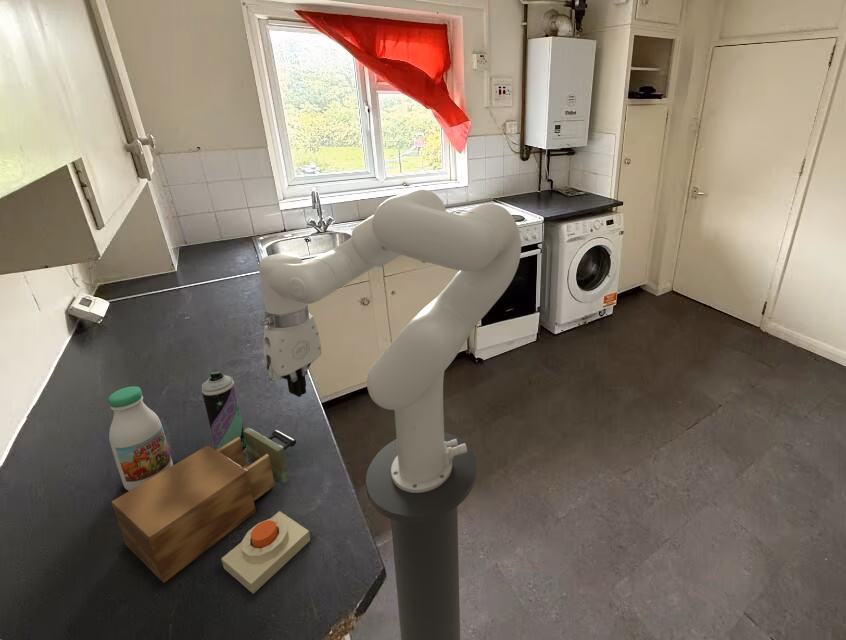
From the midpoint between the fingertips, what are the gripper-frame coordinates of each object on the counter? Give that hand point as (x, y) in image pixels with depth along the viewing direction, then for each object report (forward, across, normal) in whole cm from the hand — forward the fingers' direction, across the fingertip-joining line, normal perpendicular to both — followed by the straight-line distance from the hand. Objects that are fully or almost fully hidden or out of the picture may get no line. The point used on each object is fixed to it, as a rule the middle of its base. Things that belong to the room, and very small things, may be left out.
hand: (298, 392), depth 90 cm
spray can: (+14, -9, +12) cm, 20 cm away
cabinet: (+14, -23, -1) cm, 27 cm away
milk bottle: (+14, -21, +19) cm, 32 cm away
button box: (+13, -19, -17) cm, 29 cm away
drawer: (+13, -13, -1) cm, 18 cm away
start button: (+10, -19, -17) cm, 27 cm away
